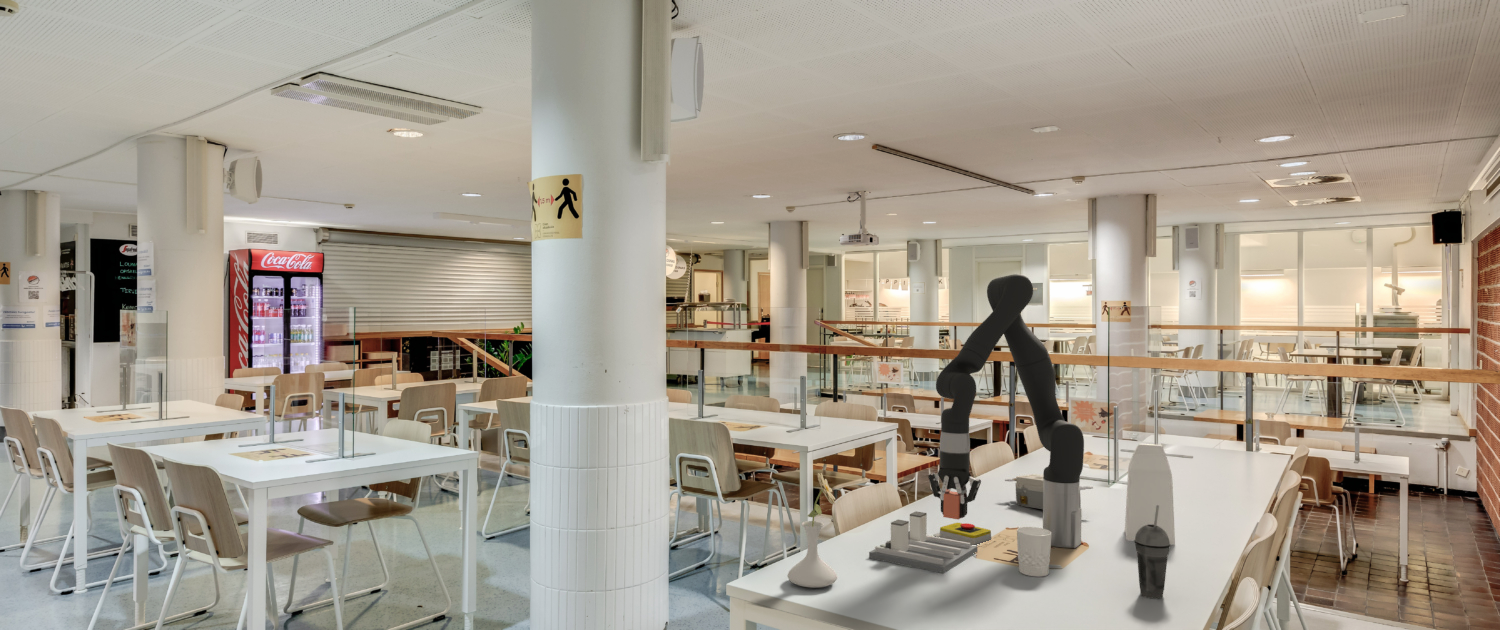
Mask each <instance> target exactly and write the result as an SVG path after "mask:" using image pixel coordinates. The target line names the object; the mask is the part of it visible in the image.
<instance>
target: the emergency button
mask: <svg viewBox="0 0 1500 630" xmlns="http://www.w3.org/2000/svg"><path fill="white" fill-rule="evenodd" d="M991 531H992V530H991V529H987V528H984V527H979V526H975V524H972V523H968V522H967V523H961V522H954V523H951V524H947V525H943V526H940V528H939V532H938V533H934V534H933V535H932V536H934V537H935V536H936V537H940V538H945V539H950V540H956V541H962V542H967V543H971V545H976V546H978V545H977V544H979V545H980V543H983V542H986V541H989V540H991V539H992V532H991Z"/></svg>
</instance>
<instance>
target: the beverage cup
mask: <svg viewBox="0 0 1500 630" xmlns="http://www.w3.org/2000/svg"><path fill="white" fill-rule="evenodd" d="M1158 510H1159V505H1157V506H1156V513H1155V521H1154V525H1145V526H1143V527H1141V528H1140V529H1139V530H1138V532H1137V533H1136V536H1135V540H1134V541H1133V542H1134V544H1135V545H1134V547H1135V551H1136V557H1137V570H1138V571H1137V572H1138V583H1139V584H1138V585H1139V590H1140V595H1141V596H1143V597H1145V598H1147V599H1148V598H1150V599H1156V600H1157V599H1159V600H1160V599H1162V598H1163V597H1164V590H1165V583H1166V576H1167V575H1166V573H1167V567H1168V566H1167V565H1168V556H1169V553H1170V547H1171V545H1170V542H1169V538H1168V535H1167V534H1166V532H1165V531H1164V530H1163V529H1162V528H1160V527H1159V526H1157V518H1158Z"/></svg>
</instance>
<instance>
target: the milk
mask: <svg viewBox="0 0 1500 630" xmlns="http://www.w3.org/2000/svg"><path fill="white" fill-rule="evenodd" d="M1172 475H1173V473H1172V470H1171V467H1170V464H1169V460H1168V456H1167V454H1166V452H1165V450H1164V447H1163V445H1162V444H1153V443H1152V444H1151V443H1149V444H1148V443H1138V444H1137V446H1136V448H1135V449H1134V452H1133V453H1132V456H1131V459H1130V461H1129V463H1128V467H1127V485H1126V486H1127V487H1126V501H1125V502H1126V503H1125V517H1124V518H1125V519H1124V521H1125V522H1124V535H1125V538H1126V541H1129V542H1130V541H1131V542H1134V540H1135V536H1136V533H1137V532H1138V530H1139V529H1140V528H1141V527H1143V526H1145V525H1154V521H1155V513H1156V506H1157V505H1159V510H1158V518H1157V526H1159V527H1160V528H1162V529H1163V530H1164V531H1165V532H1166V534H1167V535H1168V538H1169V542H1170V546H1175V545H1176V536H1175V532H1176V531H1175V530H1176V529H1175V511H1174V509H1175V507H1174V490H1173V489H1174V488H1173V487H1174V486H1173V476H1172Z"/></svg>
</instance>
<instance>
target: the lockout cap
mask: <svg viewBox="0 0 1500 630" xmlns="http://www.w3.org/2000/svg"><path fill="white" fill-rule="evenodd" d="M960 503H961V502H960V495H958V494H957V491H951V490H950V492H947V493H944V507H943V514H942V515H943V518H947V519H953V520H960V519H961V518H960Z"/></svg>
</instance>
